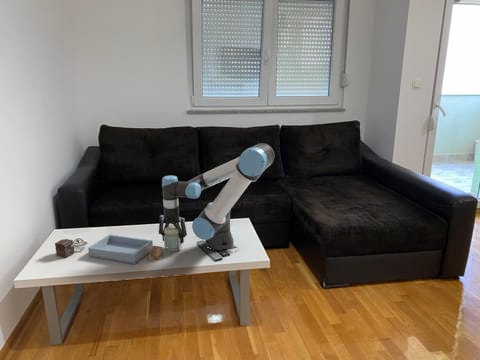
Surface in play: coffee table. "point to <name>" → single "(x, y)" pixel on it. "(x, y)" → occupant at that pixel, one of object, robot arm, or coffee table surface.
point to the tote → (120, 249)
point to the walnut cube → (155, 252)
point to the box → (64, 248)
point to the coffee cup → (172, 238)
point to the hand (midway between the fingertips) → (173, 247)
